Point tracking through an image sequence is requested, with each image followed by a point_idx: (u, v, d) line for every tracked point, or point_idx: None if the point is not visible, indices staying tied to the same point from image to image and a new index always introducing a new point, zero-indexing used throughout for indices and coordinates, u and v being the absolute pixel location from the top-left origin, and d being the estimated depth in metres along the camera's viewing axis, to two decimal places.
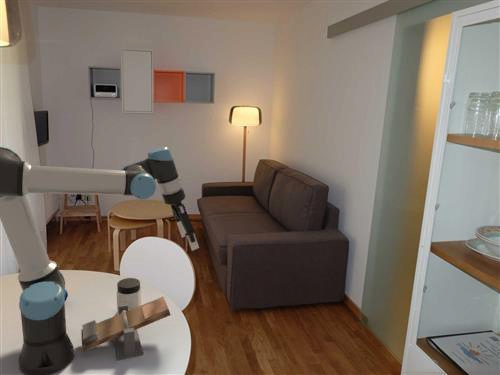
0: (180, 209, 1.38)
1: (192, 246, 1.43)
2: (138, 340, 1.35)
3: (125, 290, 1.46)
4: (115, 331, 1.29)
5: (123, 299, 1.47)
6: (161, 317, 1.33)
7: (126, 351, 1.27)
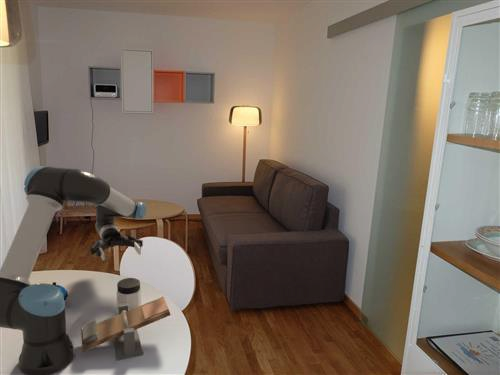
0: None
1: None
2: (138, 340, 1.35)
3: (125, 290, 1.46)
4: (115, 331, 1.29)
5: (123, 299, 1.47)
6: (161, 317, 1.33)
7: (126, 351, 1.27)
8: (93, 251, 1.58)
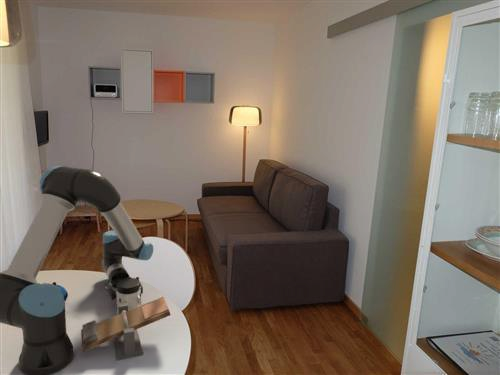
0: (138, 279, 1.64)
1: None
2: (138, 340, 1.35)
3: (125, 290, 1.46)
4: (115, 331, 1.29)
5: (123, 299, 1.47)
6: (161, 317, 1.33)
7: (126, 351, 1.27)
8: (115, 296, 1.51)
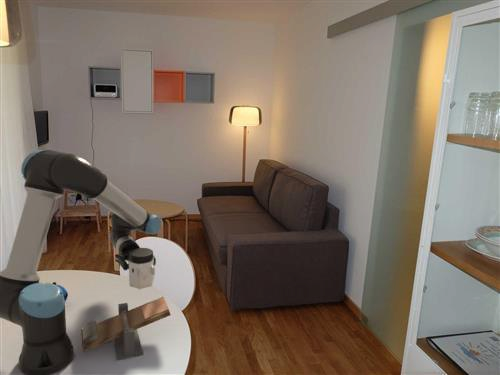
0: None
1: None
2: (138, 340, 1.35)
3: (138, 259, 1.39)
4: (115, 331, 1.29)
5: (136, 268, 1.40)
6: (161, 317, 1.33)
7: (126, 351, 1.27)
8: (127, 266, 1.43)
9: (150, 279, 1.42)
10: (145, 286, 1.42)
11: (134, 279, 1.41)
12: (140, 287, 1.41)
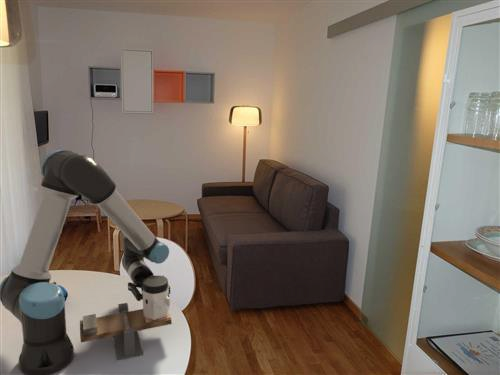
0: None
1: None
2: (138, 340, 1.35)
3: (152, 289, 1.31)
4: (115, 329, 1.29)
5: (150, 299, 1.32)
6: (162, 324, 1.34)
7: (126, 351, 1.27)
8: (141, 297, 1.36)
9: (165, 309, 1.35)
10: (160, 316, 1.35)
11: (148, 309, 1.34)
12: (155, 318, 1.34)
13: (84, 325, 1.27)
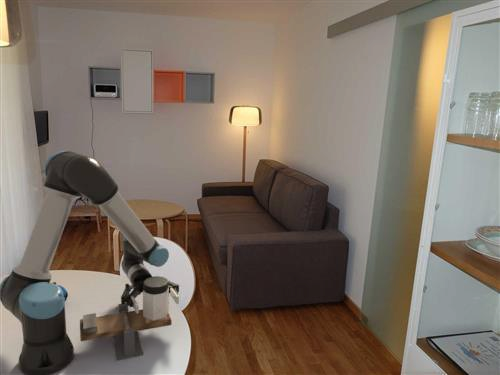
0: None
1: None
2: (138, 340, 1.35)
3: (152, 290, 1.32)
4: (115, 328, 1.29)
5: (150, 299, 1.32)
6: (162, 325, 1.34)
7: (126, 351, 1.27)
8: (124, 300, 1.35)
9: (165, 310, 1.35)
10: (159, 317, 1.35)
11: (148, 310, 1.34)
12: (154, 319, 1.34)
13: (84, 324, 1.27)
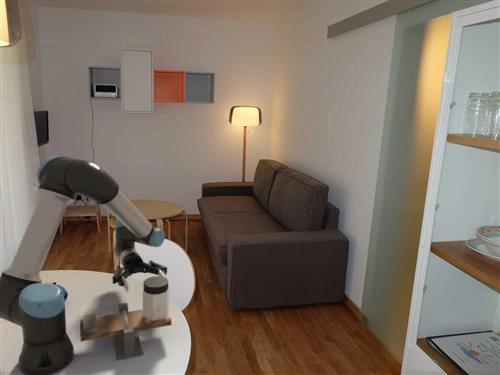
0: None
1: None
2: (138, 340, 1.35)
3: (152, 290, 1.32)
4: (115, 328, 1.29)
5: (150, 299, 1.32)
6: (162, 325, 1.34)
7: (126, 351, 1.27)
8: (115, 280, 1.46)
9: (165, 310, 1.35)
10: (159, 317, 1.35)
11: (148, 310, 1.34)
12: (154, 319, 1.34)
13: (84, 324, 1.27)
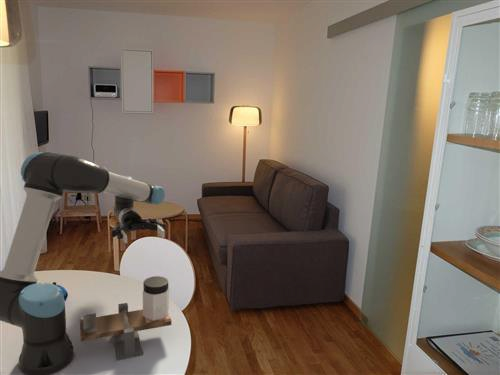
0: None
1: None
2: (138, 340, 1.35)
3: (152, 290, 1.32)
4: (115, 328, 1.29)
5: (150, 299, 1.32)
6: (162, 325, 1.34)
7: (126, 351, 1.27)
8: (114, 234, 1.48)
9: (165, 310, 1.35)
10: (159, 317, 1.35)
11: (148, 310, 1.34)
12: (154, 319, 1.34)
13: (84, 324, 1.27)
